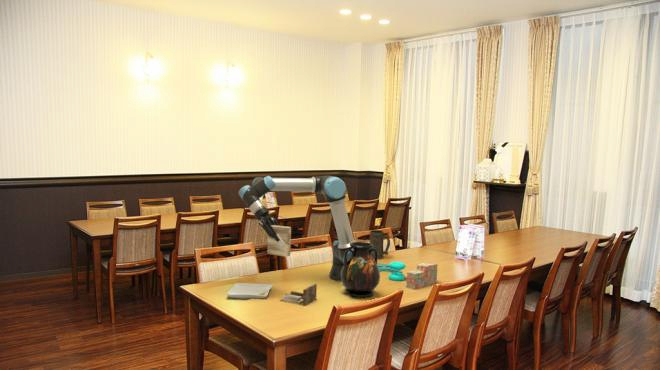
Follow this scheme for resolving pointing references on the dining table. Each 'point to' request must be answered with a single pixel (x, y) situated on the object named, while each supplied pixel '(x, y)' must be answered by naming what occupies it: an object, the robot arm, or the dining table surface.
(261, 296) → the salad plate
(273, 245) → the birch board
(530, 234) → the dining table surface
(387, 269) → the alien figure
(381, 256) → the beer stein
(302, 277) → the dining table surface
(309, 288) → the walnut rack
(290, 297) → the offcut stack
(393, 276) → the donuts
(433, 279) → the stack of blocks
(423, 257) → the dining table surface
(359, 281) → the amphora vase
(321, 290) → the dining table surface
